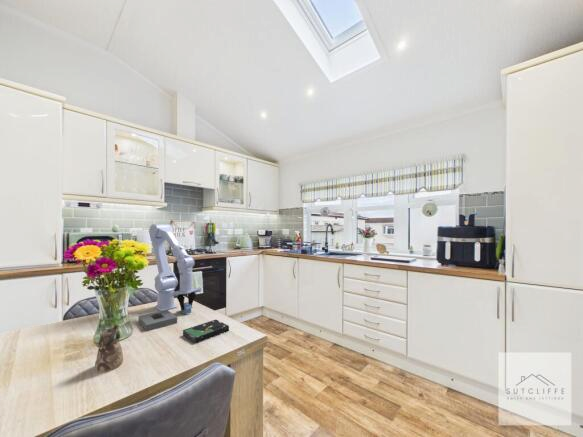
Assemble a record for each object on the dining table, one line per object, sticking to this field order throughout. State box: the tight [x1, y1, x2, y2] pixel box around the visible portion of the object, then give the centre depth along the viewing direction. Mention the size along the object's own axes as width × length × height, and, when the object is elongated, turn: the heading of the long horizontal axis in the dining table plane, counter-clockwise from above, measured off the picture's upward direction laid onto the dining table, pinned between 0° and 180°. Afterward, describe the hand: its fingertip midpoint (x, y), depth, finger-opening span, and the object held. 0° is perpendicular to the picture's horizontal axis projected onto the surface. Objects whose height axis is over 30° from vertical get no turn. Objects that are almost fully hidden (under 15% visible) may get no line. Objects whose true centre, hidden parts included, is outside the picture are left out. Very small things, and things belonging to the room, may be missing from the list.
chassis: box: [138, 309, 178, 332], centre depth 113 cm, size 14×12×2 cm
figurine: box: [94, 324, 124, 374], centre depth 79 cm, size 7×7×12 cm
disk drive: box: [182, 319, 230, 345], centre depth 101 cm, size 10×3×15 cm
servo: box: [180, 301, 193, 315], centre depth 125 cm, size 8×3×5 cm, turn 43°
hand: (186, 308), depth 125 cm, fingers closed on servo, 3 cm apart
